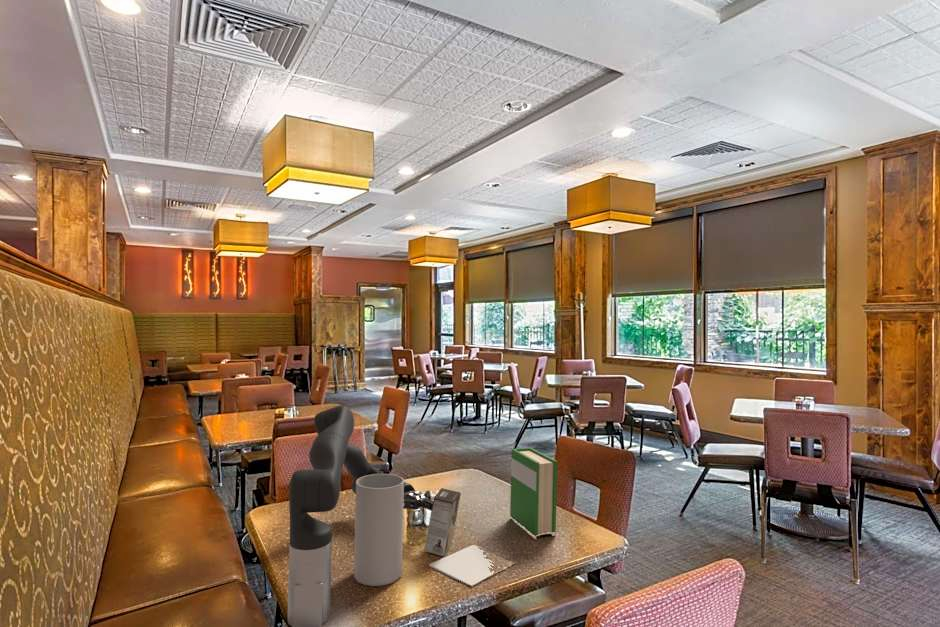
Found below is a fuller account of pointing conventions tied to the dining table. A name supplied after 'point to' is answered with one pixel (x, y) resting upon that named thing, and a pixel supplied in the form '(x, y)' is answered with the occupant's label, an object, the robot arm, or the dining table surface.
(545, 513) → the hardback book
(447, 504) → the coffee box
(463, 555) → the mat
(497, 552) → the dining table surface
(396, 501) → the cylinder vase
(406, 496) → the robot arm
